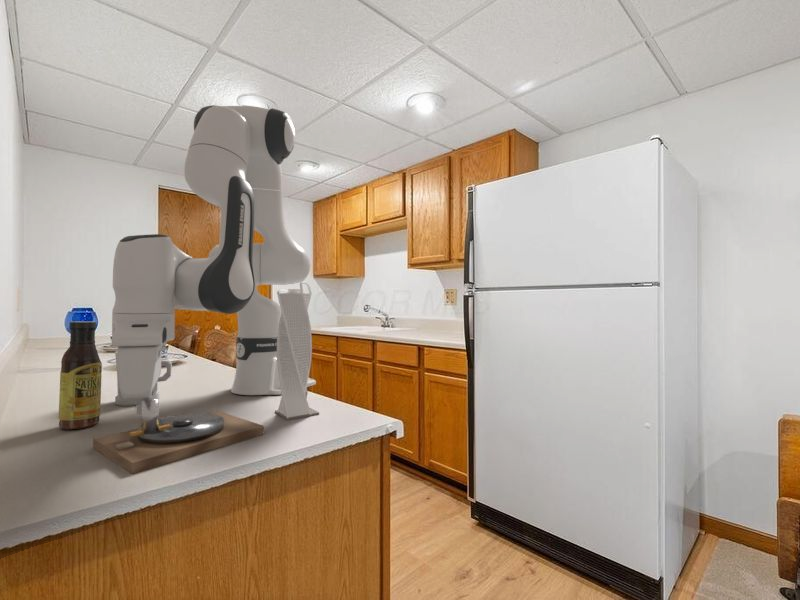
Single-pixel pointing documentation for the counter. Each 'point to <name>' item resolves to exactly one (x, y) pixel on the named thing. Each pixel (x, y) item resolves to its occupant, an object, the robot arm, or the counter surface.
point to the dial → (174, 425)
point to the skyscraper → (294, 353)
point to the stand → (171, 444)
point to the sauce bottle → (80, 379)
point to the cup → (155, 394)
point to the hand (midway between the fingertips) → (143, 413)
